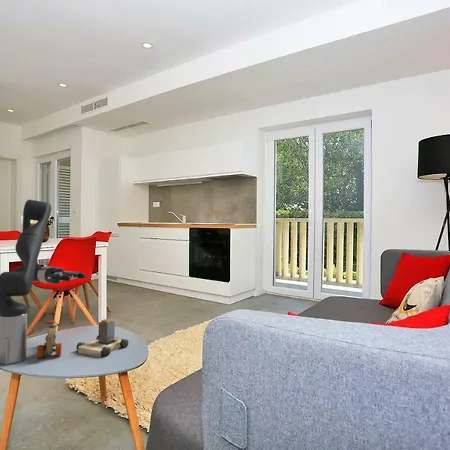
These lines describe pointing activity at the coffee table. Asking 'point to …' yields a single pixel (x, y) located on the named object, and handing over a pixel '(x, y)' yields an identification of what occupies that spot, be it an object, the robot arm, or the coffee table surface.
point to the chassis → (101, 347)
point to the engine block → (106, 332)
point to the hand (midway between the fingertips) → (77, 277)
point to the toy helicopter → (50, 341)
